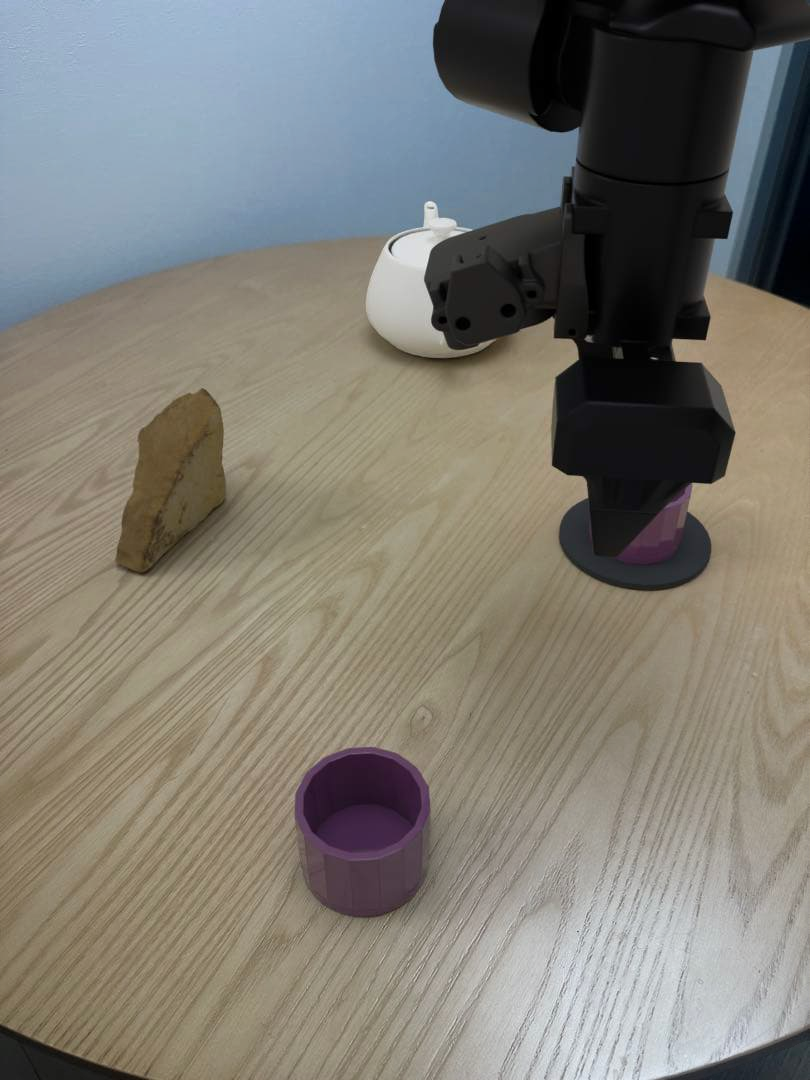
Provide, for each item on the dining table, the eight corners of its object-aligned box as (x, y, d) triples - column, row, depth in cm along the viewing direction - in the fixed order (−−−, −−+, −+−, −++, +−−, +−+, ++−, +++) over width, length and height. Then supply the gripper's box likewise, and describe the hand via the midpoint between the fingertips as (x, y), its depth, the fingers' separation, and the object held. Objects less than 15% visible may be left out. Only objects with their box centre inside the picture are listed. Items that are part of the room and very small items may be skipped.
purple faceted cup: (454, 853, 45) (457, 795, 42) (368, 943, 41) (365, 887, 39) (363, 784, 48) (360, 726, 45) (275, 863, 44) (266, 805, 42)
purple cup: (695, 533, 63) (709, 478, 61) (650, 577, 60) (662, 521, 57) (618, 499, 66) (627, 445, 64) (570, 538, 63) (578, 483, 60)
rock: (142, 578, 57) (276, 498, 61) (65, 454, 55) (208, 380, 60) (111, 582, 67) (229, 512, 71) (45, 476, 65) (170, 411, 69)
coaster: (736, 537, 64) (738, 531, 64) (662, 612, 58) (663, 606, 58) (609, 481, 69) (610, 475, 69) (529, 545, 63) (530, 539, 63)
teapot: (532, 387, 80) (543, 264, 73) (371, 393, 79) (367, 270, 73) (494, 281, 97) (500, 175, 90) (362, 286, 96) (358, 179, 90)
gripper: (457, 94, 44) (448, 390, 53) (415, 244, 29) (413, 614, 39) (702, 100, 43) (648, 401, 52) (785, 259, 28) (688, 634, 38)
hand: (600, 495), depth 45 cm, fingers open, 9 cm apart
